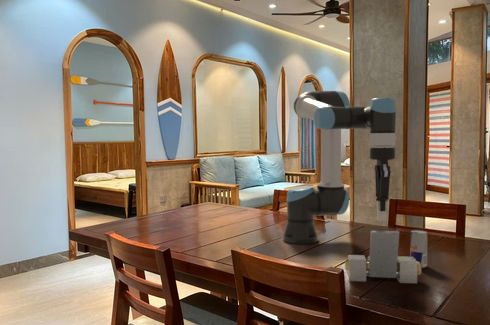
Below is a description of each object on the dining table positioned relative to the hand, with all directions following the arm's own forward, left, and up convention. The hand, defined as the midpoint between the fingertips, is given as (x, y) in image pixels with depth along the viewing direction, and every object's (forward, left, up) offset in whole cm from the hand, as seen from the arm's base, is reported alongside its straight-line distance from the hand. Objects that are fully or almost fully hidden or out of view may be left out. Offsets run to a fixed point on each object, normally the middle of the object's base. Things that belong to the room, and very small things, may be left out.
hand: (381, 220), depth 130 cm
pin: (0, -4, -16) cm, 16 cm away
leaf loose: (-1, -7, -9) cm, 12 cm away
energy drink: (+14, +12, -18) cm, 26 cm away
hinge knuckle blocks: (-1, 0, -18) cm, 18 cm away
